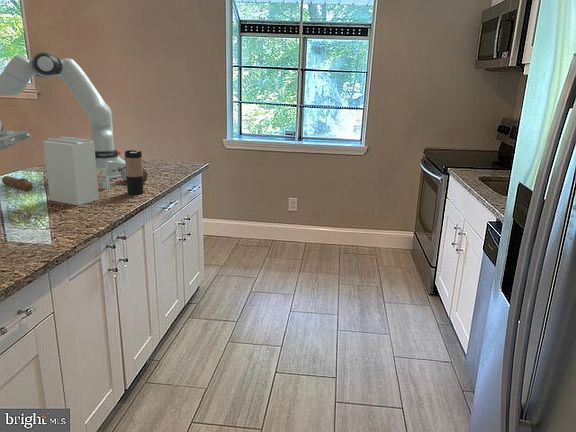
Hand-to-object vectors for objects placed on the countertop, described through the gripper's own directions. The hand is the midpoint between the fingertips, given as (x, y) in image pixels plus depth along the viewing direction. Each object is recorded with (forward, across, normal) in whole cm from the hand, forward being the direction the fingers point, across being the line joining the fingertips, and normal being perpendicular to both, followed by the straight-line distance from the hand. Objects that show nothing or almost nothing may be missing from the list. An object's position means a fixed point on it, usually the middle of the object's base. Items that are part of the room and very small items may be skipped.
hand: (21, 138), depth 204 cm
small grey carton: (+24, +13, +30) cm, 41 cm away
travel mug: (+43, +12, +33) cm, 56 cm away
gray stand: (+27, -9, +28) cm, 40 cm away
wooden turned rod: (-10, -3, +23) cm, 25 cm away
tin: (+31, +30, +33) cm, 54 cm away
